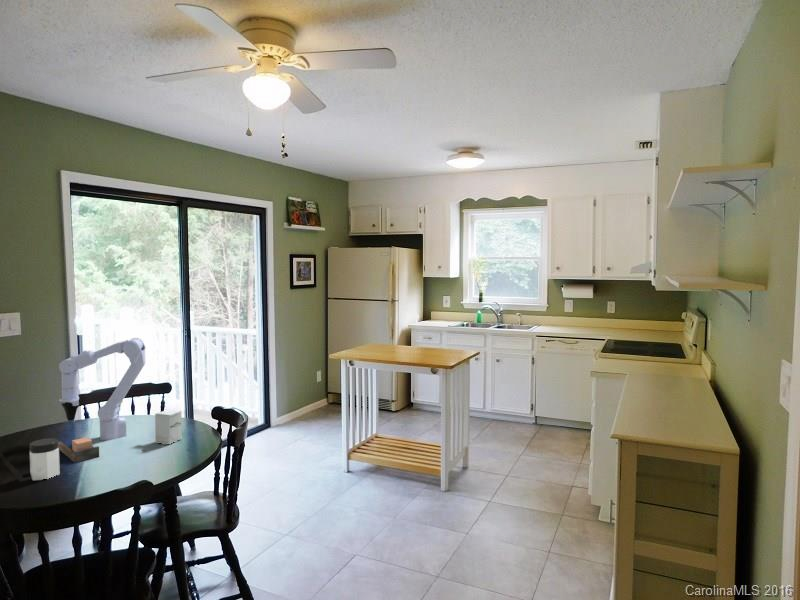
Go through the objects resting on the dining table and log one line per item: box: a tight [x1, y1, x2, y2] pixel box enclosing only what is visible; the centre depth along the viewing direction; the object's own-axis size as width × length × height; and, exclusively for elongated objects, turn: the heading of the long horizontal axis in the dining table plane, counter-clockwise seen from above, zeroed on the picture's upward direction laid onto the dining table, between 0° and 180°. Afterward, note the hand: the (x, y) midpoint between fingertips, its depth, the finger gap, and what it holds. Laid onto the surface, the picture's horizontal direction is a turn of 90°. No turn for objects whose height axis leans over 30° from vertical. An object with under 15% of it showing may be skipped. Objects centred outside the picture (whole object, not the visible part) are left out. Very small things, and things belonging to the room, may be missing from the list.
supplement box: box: [154, 409, 183, 445], centre depth 215 cm, size 7×7×13 cm
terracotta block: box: [71, 436, 93, 451], centre depth 195 cm, size 5×6×6 cm
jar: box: [29, 437, 61, 481], centre depth 179 cm, size 9×8×12 cm
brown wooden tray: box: [58, 437, 102, 466], centre depth 199 cm, size 12×22×5 cm, turn 48°
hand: (71, 419), depth 213 cm, fingers closed
